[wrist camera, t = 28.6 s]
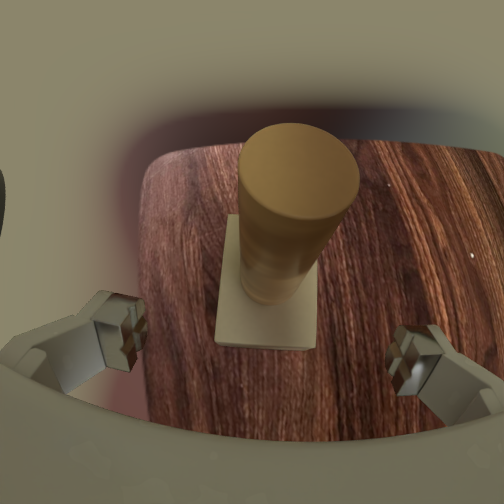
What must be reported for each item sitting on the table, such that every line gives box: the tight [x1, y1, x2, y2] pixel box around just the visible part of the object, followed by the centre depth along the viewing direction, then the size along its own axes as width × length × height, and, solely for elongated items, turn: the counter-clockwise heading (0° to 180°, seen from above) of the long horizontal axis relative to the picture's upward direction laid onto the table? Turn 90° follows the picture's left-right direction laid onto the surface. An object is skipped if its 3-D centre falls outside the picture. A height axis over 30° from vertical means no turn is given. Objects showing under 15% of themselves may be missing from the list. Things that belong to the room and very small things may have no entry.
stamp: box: [214, 123, 360, 351], centre depth 12 cm, size 5×7×12 cm
